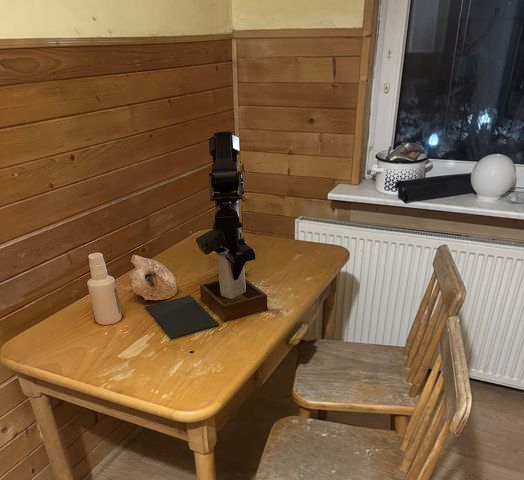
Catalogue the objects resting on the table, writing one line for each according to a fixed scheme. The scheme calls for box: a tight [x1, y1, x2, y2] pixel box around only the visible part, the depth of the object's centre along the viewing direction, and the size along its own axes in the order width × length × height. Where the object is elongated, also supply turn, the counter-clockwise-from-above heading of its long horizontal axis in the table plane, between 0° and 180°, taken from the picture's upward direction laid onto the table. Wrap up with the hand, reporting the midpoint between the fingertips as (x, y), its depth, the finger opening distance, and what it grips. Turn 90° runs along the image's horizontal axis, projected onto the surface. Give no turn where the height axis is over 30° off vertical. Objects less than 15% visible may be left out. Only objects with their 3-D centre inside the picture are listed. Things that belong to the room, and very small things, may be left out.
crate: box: [199, 278, 269, 323], centre depth 139 cm, size 16×13×4 cm
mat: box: [145, 295, 220, 340], centre depth 135 cm, size 20×13×1 cm, turn 29°
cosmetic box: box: [216, 250, 246, 300], centre depth 135 cm, size 6×4×12 cm
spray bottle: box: [86, 252, 123, 326], centre depth 130 cm, size 7×7×18 cm
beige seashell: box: [128, 254, 178, 303], centre depth 148 cm, size 18×14×8 cm
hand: (231, 276), depth 135 cm, fingers closed on cosmetic box, 5 cm apart
